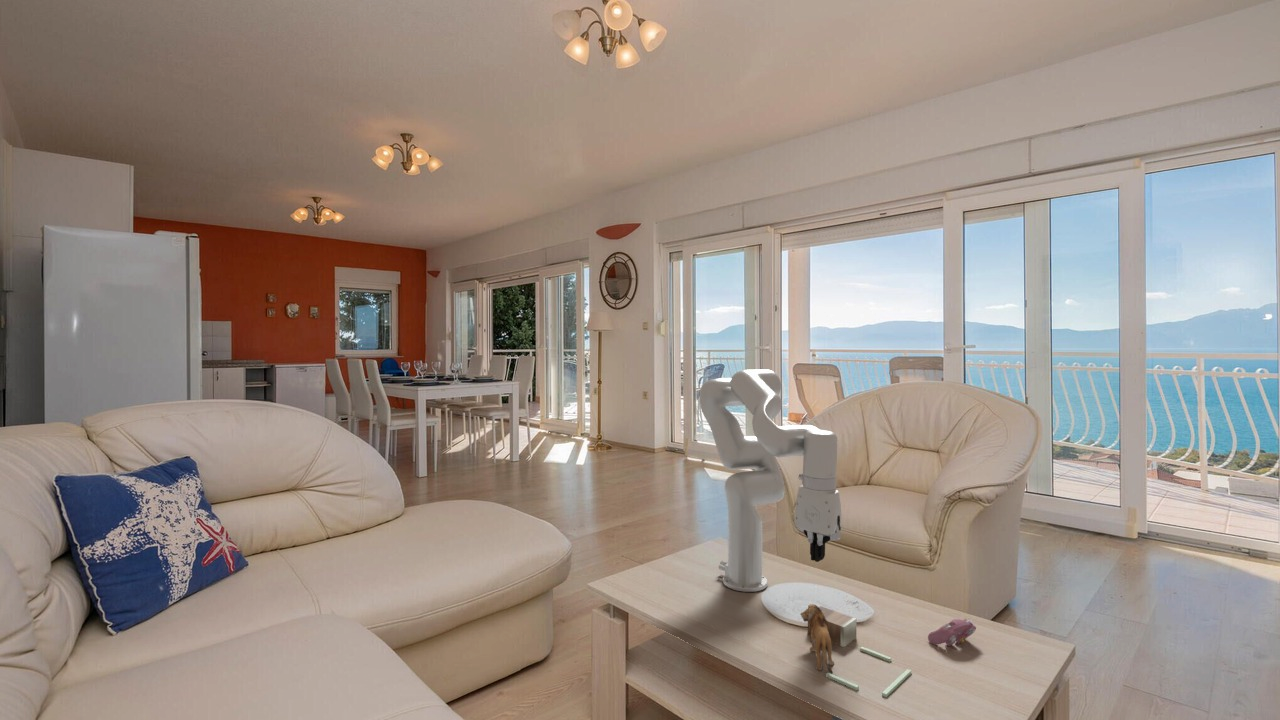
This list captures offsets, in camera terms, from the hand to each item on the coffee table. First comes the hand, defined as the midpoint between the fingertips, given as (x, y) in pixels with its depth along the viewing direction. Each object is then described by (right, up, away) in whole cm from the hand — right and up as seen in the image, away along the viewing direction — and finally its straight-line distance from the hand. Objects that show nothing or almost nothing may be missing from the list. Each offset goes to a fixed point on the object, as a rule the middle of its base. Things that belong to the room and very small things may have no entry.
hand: (817, 559), depth 137 cm
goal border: (+5, -17, -19) cm, 26 cm away
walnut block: (-1, -14, 0) cm, 14 cm away
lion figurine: (-3, -17, -12) cm, 21 cm away
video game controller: (+29, -17, -6) cm, 34 cm away
